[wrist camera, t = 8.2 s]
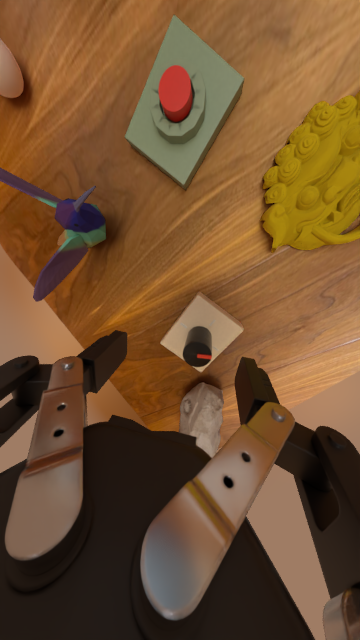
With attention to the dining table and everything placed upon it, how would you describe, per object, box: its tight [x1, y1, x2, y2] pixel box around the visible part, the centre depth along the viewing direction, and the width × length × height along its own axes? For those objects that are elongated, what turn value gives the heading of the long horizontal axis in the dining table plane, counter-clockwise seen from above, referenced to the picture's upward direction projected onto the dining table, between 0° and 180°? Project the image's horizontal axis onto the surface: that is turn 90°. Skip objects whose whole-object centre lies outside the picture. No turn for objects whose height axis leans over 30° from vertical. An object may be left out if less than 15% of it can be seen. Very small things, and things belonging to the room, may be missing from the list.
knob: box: [183, 326, 212, 367], centre depth 29 cm, size 4×4×6 cm
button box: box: [125, 15, 244, 190], centre depth 22 cm, size 12×10×4 cm
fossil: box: [179, 382, 224, 458], centre depth 35 cm, size 16×9×15 cm, turn 163°
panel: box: [160, 291, 244, 372], centre depth 33 cm, size 12×10×3 cm
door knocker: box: [260, 91, 360, 253], centre depth 22 cm, size 17×16×4 cm
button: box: [159, 65, 193, 122], centre depth 20 cm, size 4×4×2 cm
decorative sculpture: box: [0, 168, 106, 301], centre depth 24 cm, size 17×18×15 cm
